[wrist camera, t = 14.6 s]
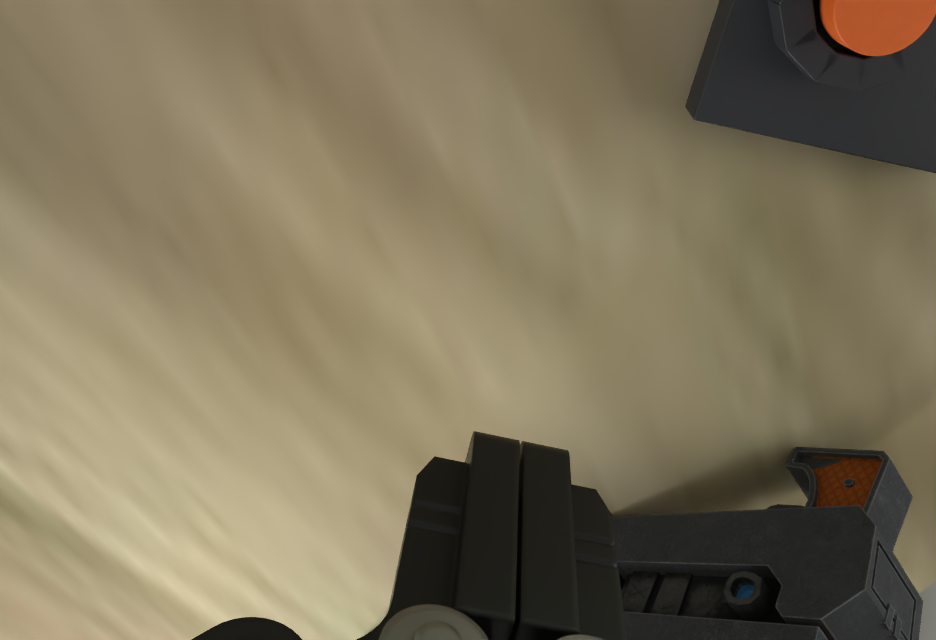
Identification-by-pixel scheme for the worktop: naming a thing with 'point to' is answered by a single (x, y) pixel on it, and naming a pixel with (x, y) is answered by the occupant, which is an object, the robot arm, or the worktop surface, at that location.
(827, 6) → the button
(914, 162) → the button box
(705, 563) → the tool
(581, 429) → the worktop surface
